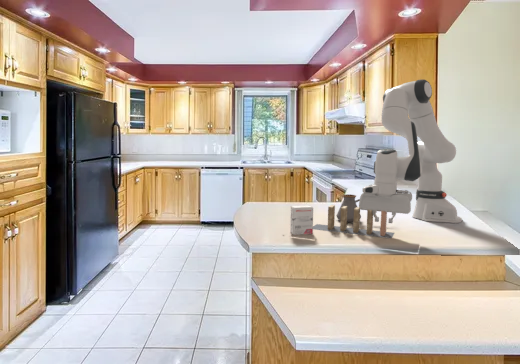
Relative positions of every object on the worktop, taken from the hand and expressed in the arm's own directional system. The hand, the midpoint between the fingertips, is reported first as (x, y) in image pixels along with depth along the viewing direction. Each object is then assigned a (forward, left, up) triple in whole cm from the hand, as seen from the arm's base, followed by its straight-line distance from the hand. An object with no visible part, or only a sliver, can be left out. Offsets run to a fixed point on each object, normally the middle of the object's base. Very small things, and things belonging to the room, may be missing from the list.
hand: (383, 222), depth 159 cm
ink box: (+31, +13, -6) cm, 34 cm away
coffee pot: (+14, -21, -6) cm, 26 cm away
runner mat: (+13, 0, -6) cm, 14 cm away
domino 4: (+6, 0, -5) cm, 8 cm away
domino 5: (0, 0, -5) cm, 5 cm away
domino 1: (+22, 0, -5) cm, 23 cm away
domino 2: (+17, 0, -5) cm, 17 cm away
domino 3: (+11, 0, -5) cm, 12 cm away
